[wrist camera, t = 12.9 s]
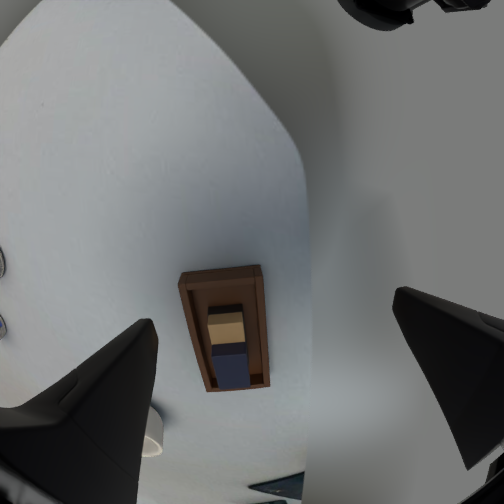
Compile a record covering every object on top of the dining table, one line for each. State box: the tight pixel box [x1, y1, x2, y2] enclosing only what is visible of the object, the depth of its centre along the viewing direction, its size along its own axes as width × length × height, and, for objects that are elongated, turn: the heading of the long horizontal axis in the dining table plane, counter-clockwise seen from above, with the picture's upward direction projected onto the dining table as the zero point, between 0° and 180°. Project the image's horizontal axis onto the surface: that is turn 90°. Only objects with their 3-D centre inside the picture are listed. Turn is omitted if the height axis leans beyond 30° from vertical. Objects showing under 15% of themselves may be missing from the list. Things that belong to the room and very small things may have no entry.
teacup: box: [142, 406, 164, 457], centre depth 24 cm, size 10×8×5 cm
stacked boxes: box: [207, 304, 251, 390], centre depth 21 cm, size 6×3×4 cm, turn 5°
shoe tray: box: [178, 265, 270, 392], centre depth 22 cm, size 6×12×2 cm, turn 5°
